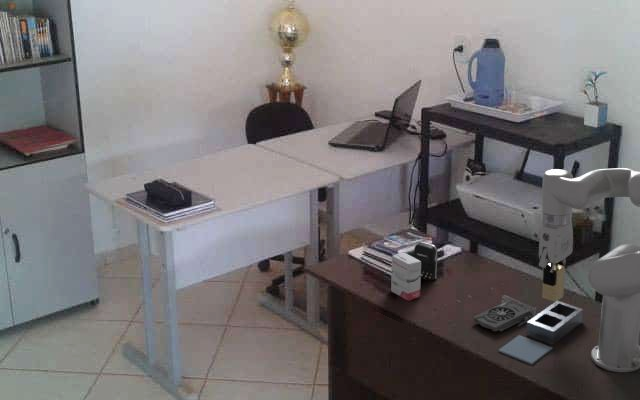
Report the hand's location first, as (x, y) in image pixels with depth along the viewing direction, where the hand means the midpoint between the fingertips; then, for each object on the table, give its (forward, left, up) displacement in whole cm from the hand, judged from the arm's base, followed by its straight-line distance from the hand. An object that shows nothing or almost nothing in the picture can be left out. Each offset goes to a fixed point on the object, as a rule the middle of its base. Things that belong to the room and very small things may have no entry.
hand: (553, 280), depth 229 cm
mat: (+1, +11, -16) cm, 20 cm away
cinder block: (+1, -4, -16) cm, 17 cm away
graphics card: (+15, +1, -17) cm, 22 cm away
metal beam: (+30, -5, -17) cm, 34 cm away
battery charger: (+47, -6, -16) cm, 50 cm away
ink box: (+45, +6, -16) cm, 48 cm away
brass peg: (0, 0, -5) cm, 5 cm away
